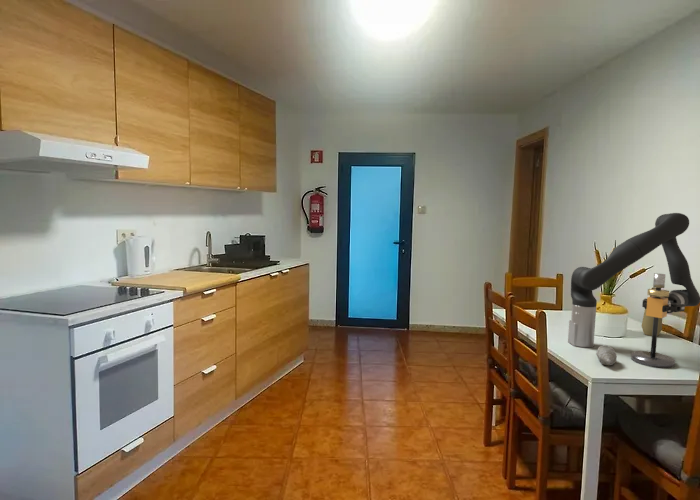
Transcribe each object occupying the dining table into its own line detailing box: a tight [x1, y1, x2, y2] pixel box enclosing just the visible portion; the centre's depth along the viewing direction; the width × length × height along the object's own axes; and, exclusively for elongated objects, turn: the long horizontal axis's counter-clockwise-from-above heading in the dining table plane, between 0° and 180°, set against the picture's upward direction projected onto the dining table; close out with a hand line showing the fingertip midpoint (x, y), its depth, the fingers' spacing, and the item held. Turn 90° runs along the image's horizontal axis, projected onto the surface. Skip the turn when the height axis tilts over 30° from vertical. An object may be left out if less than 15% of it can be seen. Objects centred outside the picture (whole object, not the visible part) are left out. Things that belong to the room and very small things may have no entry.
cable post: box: [630, 272, 676, 369], centre depth 175 cm, size 14×14×34 cm
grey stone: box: [595, 344, 618, 366], centre depth 174 cm, size 6×14×8 cm, turn 160°
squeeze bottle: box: [641, 308, 663, 337], centre depth 214 cm, size 8×8×18 cm
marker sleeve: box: [646, 296, 668, 319], centre depth 175 cm, size 5×5×7 cm
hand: (654, 307), depth 173 cm, fingers closed on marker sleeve, 5 cm apart
